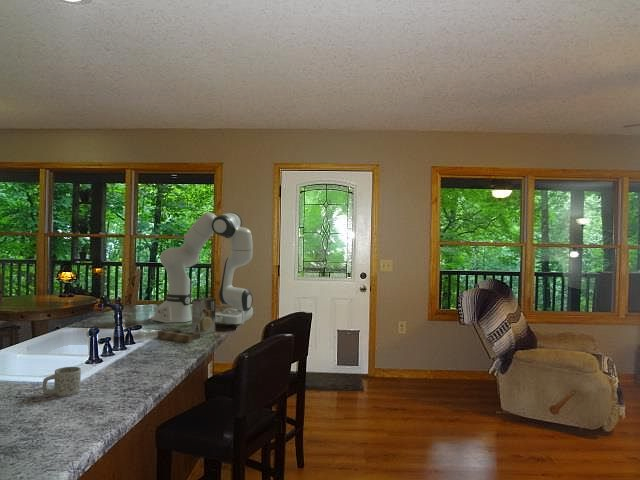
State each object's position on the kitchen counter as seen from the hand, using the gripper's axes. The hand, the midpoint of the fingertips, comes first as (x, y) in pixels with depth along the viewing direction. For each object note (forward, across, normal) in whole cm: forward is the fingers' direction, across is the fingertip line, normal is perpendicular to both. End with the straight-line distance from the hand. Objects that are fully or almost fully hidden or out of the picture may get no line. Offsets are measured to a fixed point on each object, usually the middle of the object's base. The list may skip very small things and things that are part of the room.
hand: (213, 319), depth 231 cm
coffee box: (+7, 0, +5) cm, 9 cm away
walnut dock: (+21, 0, +5) cm, 22 cm away
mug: (+95, +22, +5) cm, 98 cm away
